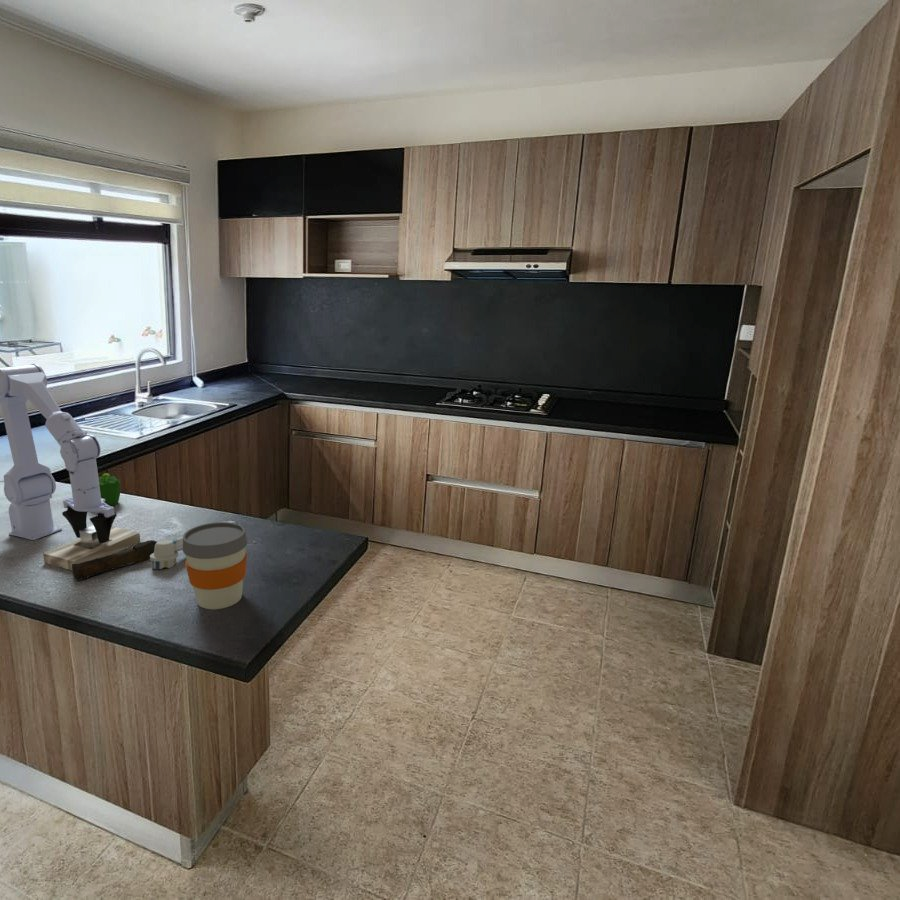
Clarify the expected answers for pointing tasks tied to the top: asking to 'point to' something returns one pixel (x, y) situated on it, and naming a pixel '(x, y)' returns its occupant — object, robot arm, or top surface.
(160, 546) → the white elongated piece
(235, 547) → the reusable coffee cup
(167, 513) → the top surface
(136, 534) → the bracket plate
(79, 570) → the dark brown wood piece
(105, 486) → the bell pepper
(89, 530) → the pale grey block
